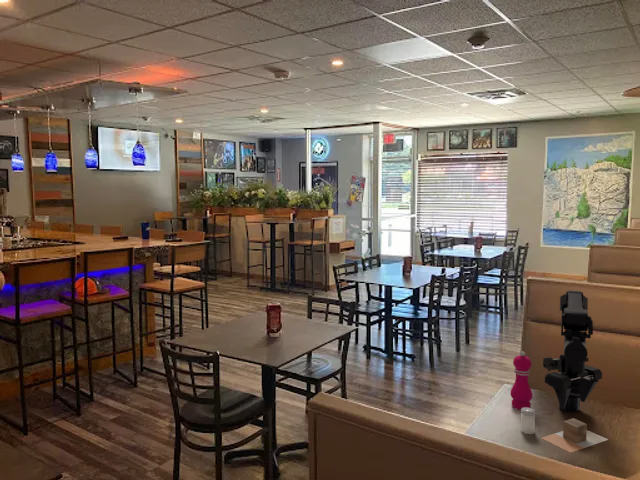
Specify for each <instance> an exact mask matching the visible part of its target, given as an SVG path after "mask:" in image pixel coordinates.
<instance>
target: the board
mask: <svg viewBox="0 0 640 480" xmlns="http://www.w3.org/2000/svg"><path fill="white" fill-rule="evenodd" d="M541 439H542V440H545V441H546V442H548V443H550V444H553V445H554V446H556V447H558V448H560V449H561V450H564V451H566V452H569V453H570V454H571V453H574V452H578V451H581V450H583V449H586V448H588V447H592V446H594V445H597V444H600V443H603V442H606V441H608V440H609V439H608V438H606V437H604V436H601V435H598V434H597V433H595V432H592V431H590V430H588V429H587V436H586V441H583V442H580V443H577V444H576V443H574V442H572V441H570V440H568V439H566V438H564V437H563V430H561V431H558V432H556V433H552V434H549V435H546V436H543V437H541Z"/></svg>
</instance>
